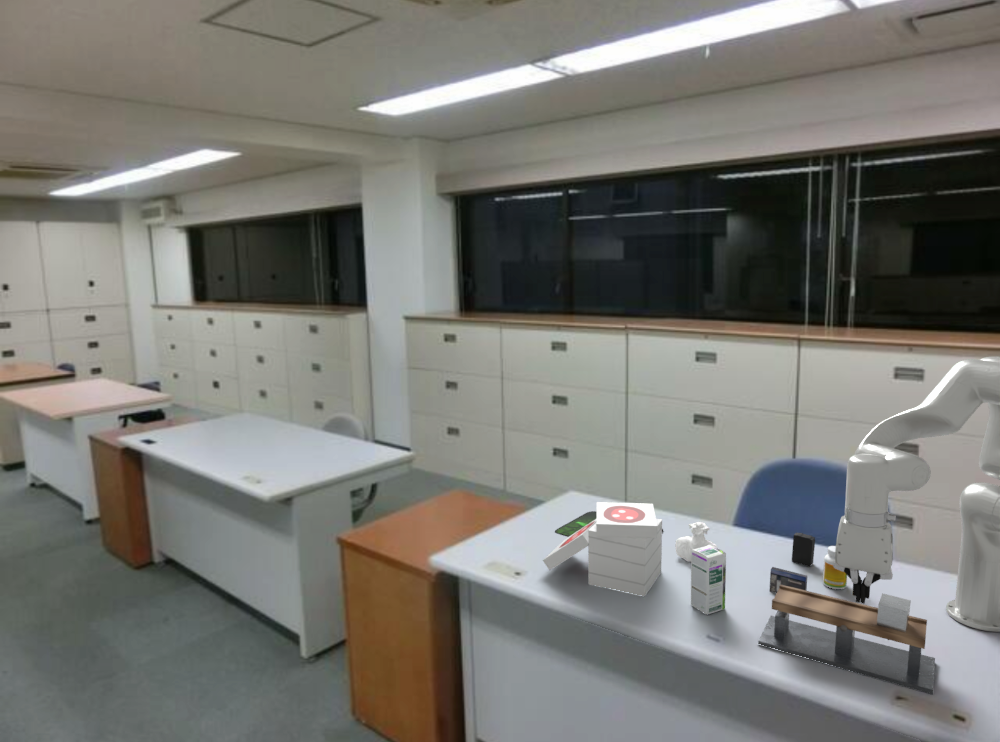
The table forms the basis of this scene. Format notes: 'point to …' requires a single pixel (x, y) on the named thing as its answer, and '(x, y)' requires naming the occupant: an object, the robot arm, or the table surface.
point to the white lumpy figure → (693, 541)
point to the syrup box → (708, 579)
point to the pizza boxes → (618, 547)
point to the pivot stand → (851, 652)
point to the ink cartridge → (803, 549)
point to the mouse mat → (577, 524)
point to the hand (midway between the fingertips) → (860, 599)
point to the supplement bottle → (833, 572)
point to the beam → (845, 615)
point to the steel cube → (893, 612)
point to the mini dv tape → (786, 579)
